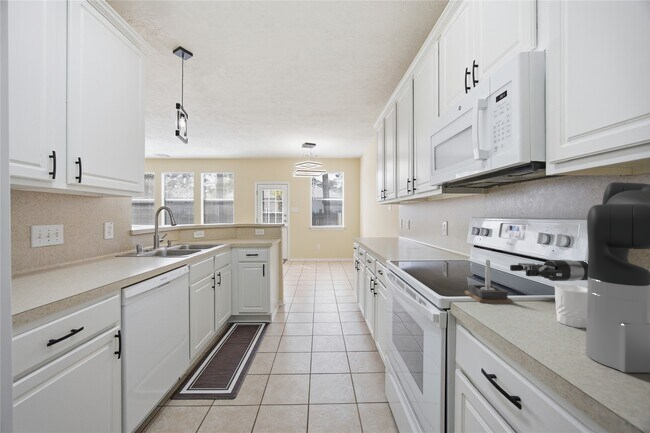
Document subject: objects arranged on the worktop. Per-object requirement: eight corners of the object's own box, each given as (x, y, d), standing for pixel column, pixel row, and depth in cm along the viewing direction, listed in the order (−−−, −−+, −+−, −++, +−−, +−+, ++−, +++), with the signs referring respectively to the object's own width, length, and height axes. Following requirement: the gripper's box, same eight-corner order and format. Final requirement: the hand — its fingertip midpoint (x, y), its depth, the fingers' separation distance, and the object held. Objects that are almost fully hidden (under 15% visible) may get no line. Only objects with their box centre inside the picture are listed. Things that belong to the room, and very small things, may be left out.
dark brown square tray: (512, 302, 97) (512, 292, 97) (480, 302, 97) (480, 292, 97) (493, 293, 108) (493, 284, 108) (464, 293, 108) (464, 284, 108)
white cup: (598, 330, 75) (599, 293, 75) (564, 327, 77) (565, 291, 76) (578, 319, 83) (579, 285, 83) (548, 317, 84) (548, 283, 84)
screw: (479, 292, 106) (494, 294, 104) (480, 295, 102) (495, 297, 100) (480, 258, 106) (495, 259, 104) (480, 260, 101) (496, 261, 99)
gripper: (548, 256, 109) (506, 256, 110) (581, 263, 95) (532, 263, 95) (547, 276, 110) (505, 276, 110) (580, 285, 95) (532, 285, 95)
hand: (518, 270), depth 103 cm, fingers open, 8 cm apart
